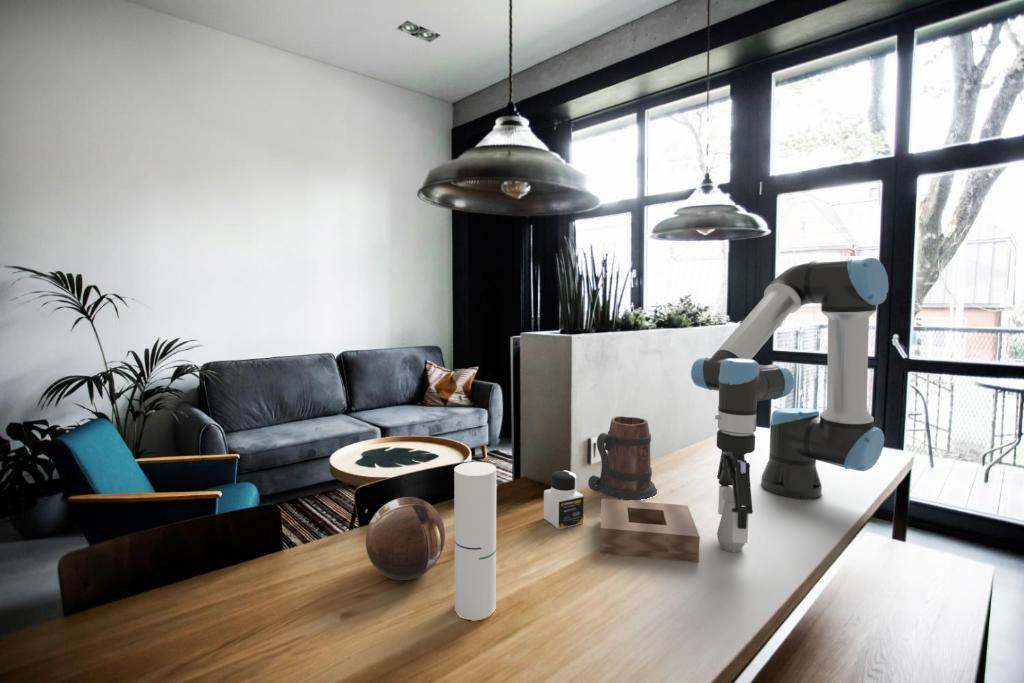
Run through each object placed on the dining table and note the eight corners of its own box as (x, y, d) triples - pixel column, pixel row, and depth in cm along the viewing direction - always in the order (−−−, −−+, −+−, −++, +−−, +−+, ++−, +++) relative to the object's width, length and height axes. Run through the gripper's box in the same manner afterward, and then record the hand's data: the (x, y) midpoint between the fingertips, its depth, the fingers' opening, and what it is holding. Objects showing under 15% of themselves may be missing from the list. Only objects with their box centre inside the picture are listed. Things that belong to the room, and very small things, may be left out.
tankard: (623, 474, 156) (625, 410, 154) (671, 491, 143) (673, 421, 141) (568, 492, 142) (569, 421, 140) (615, 512, 129) (617, 435, 127)
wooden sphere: (354, 570, 101) (353, 496, 99) (423, 548, 110) (422, 480, 108) (385, 607, 89) (384, 524, 87) (459, 578, 98) (459, 503, 97)
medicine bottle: (558, 530, 119) (559, 480, 118) (543, 518, 125) (543, 470, 124) (583, 523, 122) (584, 475, 121) (567, 512, 128) (568, 466, 127)
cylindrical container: (455, 597, 92) (454, 462, 90) (494, 595, 92) (495, 461, 90) (454, 622, 85) (453, 476, 82) (497, 620, 85) (497, 475, 83)
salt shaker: (740, 542, 113) (742, 485, 112) (749, 554, 108) (752, 495, 106) (713, 540, 114) (715, 484, 113) (720, 553, 108) (723, 494, 107)
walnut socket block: (686, 527, 120) (687, 505, 120) (698, 562, 104) (699, 536, 104) (600, 520, 124) (601, 498, 123) (599, 552, 108) (600, 527, 108)
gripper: (706, 417, 121) (703, 503, 123) (731, 446, 97) (726, 553, 99) (739, 418, 120) (735, 505, 122) (773, 449, 96) (768, 557, 97)
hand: (731, 527), depth 110 cm, fingers open, 13 cm apart
